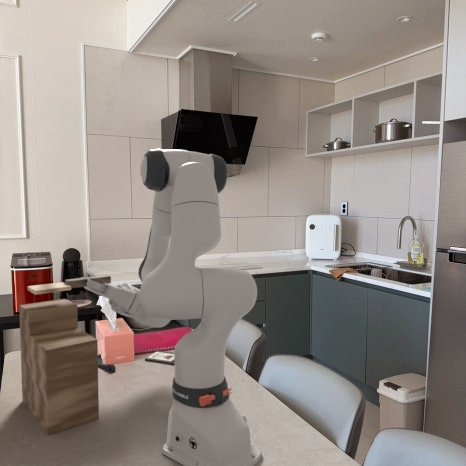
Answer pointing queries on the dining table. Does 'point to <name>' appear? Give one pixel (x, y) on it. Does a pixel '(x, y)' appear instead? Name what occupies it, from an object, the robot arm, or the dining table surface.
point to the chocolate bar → (162, 357)
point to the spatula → (67, 284)
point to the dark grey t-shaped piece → (105, 365)
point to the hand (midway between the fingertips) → (83, 280)
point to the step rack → (58, 366)
